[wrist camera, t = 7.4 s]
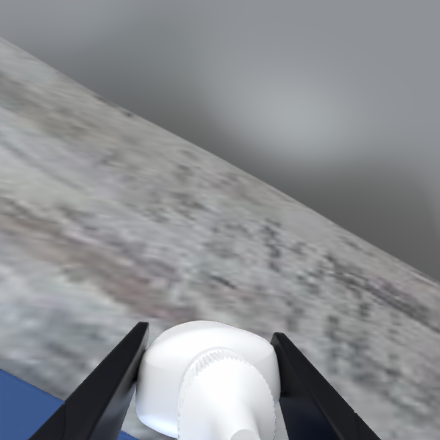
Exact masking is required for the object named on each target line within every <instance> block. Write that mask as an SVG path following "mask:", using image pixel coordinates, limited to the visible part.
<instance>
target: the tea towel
mask: <svg viewBox="0 0 440 440" xmlns="http://www.w3.org/2000/svg"><path fill="white" fill-rule="evenodd" d="M63 403H64V401H62V400H60V399H58V398H56V397H54V396H52V395H50V394H48V393H46V392H44V391H42V390H40V389H39V388H37V387H35V386H33V385H31V384H29V383H27V382H25V381H23V380H21V379H19V378H17V377H15V376H13V375H11V374H9V373H7V372H5V371H3V370H1V369H0V440H28V439H29V438H30V437H31V436H32V435H33V434H34V433H35V432H36V431H37V430H38V429H39V428H40V427H41V426H42V425H43V424H44V423H45V421H46V420H47V419H48V418H49V417H50V416H51V415H52V414H53V413H54V412H55V411H56V410H57V409H58V408H59V407H60V406H61V405H62V404H63ZM117 440H139V439H137V438H135V437H133V436H131V435H129V434H127V433H125V432H123V431H121V430H120V432H119V435H118V438H117Z"/></svg>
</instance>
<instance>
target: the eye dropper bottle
mask: <svg viewBox="0 0 440 440" xmlns="http://www.w3.org/2000/svg"><path fill="white" fill-rule="evenodd" d="M280 392H281V386H280V375H279V368H278V361H277V356H276V353H275V351H274V348H273V346H272V345H271V344H270V343H269V342H268V341H267V340H266V339H264V338H262V337H260V336H258V335H256V334H253V333H251V332H248V331H245V330H242V329H239V328H236V327H232V326H229V325H226V324H222V323H219V322H214V321H192V322H187V323H183V324H180V325H177V326H174V327H172V328H170V329H168V330H166V331H164V332H163V333H162V334H161V335H160V336H159V337H158V338H157V339H156V340H155V341H154V342H153V343H152V344H151V345H150V346H149V347H148V348H147V349H146V351H145V352H144V353H143V355H142V358H141V361H140V364H139V369H138V375H137V384H136V395H135V409H136V414H137V416H138V418H139V419H140V420H141V421H142V423H144V424H145V425H147V426H148V427H150V428H152V429H154V430H156V431H158V432H160V433H162V434H165V435H167V436H170V437H174V438H177V439H178V440H273V439H274V437H275V434H274V433H275V431H276V428H275V425H276V421H275V419H276V415H275V410H276V409H275V408H274V407H275V406H276V404H277V403H278V401H279V399H280Z"/></svg>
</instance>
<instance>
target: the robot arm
mask: <svg viewBox="0 0 440 440" xmlns="http://www.w3.org/2000/svg"><path fill="white" fill-rule="evenodd" d="M148 334H149V323H148V322H139V323H138V324H137V325H136V326H135V327H134V328H133V329H132V330H131V331H130V332H129V333H128V334H127V335H126V336H125V337H124V338H123V340H122V341H121V342H120V343H119V344H118V345H117V346H116V347H115V348H114V349H113V350H112V351H111V352H110V353H109V354H108V356H107V357H106V358H105V359H104V360H103V361H102V362H101V363H100V364H99V365H98V366H97V367H96V368H95V369H94V371H93V372H92V373H91V374H90V375H89V376H88V377H87V378H86V379H85V380H84V381H83V382H82V383H81V384H80V385H79V387H78V388H77V389H76V390H75V391H74V392H73V393H72V394H71V395H70V396H69V397H68V398H67V399H66V400H65V402H64V403H63V404H62V405H61V406H60V407H59V408H58V409H57V410H56V411H55V412H54V413H53V414H52V415H51V416H50V417H49V418H48V419H47V420H46V421H45V423H44V424H43V425H42V426H41V427H40V428H39V429H38V430H37V431H36V432H35V433H34V434H33V435H32V436H31V437H30V438H29V439H28V440H117V438H118V435H119V432H120V430H121V427H122V424H123V421H124V418H125V416H126V413H127V410H128V407H129V404H130V401H131V399H132V396H133V393H134V390H135V387H136V384H137V375H138V369H139V364H140V361H141V358H142V355H143V353H144V352H145V349H146V345H147V341H148ZM270 344H271V345H272V346H273V348H274V351H275V353H276V356H277V361H278V368H279V375H280V386H281V392H280V399H279V403H280V407H281V411H282V414H283V418H284V422H285V426H286V430H287V434H288V438H289V440H381V439H380V438H379V437H378V436H377V435H376V434H375V433H374V432H373V431H372V430H371V429H370V428H369V427H368V425H367V424H366V423H365V422H364V421H363V420H362V419H361V418H360V417H359V416H358V414H357V413H355V412H354V410H353V409H352V408H351V407H350V406H349V405H348V404H347V402H346V401H345V400H344V399H343V398H342V397H341V396H340V395H339V394H338V393H337V391H336V390H335V389H334V388H333V387H332V386H331V385H330V384H329V383H328V381H327V380H326V379H325V378H324V377H323V376H322V375H321V374H320V373H319V372H318V370H317V369H316V368H315V367H314V366H313V365H312V364H311V363H310V362H309V361H308V359H307V358H306V357H305V356H304V355H303V354H302V353H301V352H300V351H299V349H298V348H297V347H296V346H295V345H294V344H293V343H292V342H291V341H290V340H289V338H288V337H287V336H286V335H285V334H284V333H279V332H275V333H274V334H273V337H272V340H271V343H270Z"/></svg>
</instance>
